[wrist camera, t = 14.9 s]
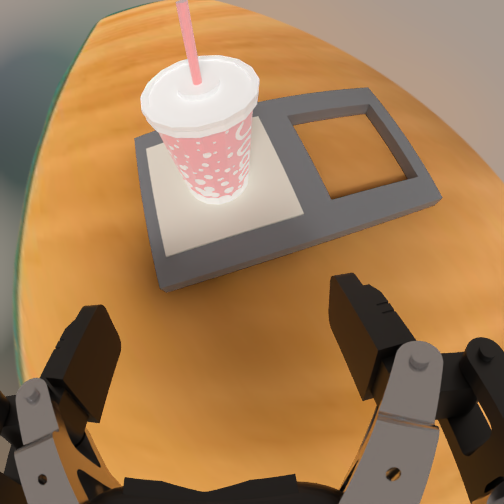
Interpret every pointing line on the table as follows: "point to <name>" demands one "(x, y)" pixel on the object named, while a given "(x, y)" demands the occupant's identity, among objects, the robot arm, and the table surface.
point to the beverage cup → (205, 117)
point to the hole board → (271, 193)
